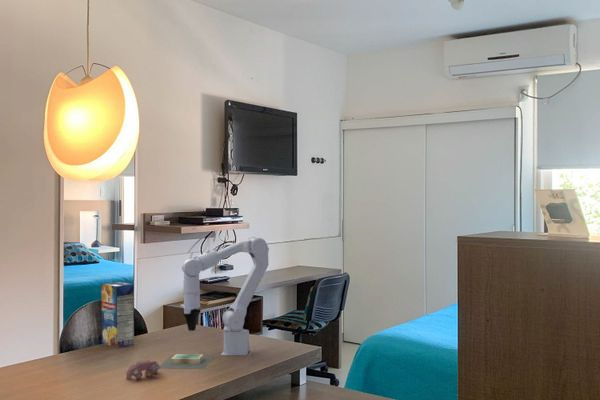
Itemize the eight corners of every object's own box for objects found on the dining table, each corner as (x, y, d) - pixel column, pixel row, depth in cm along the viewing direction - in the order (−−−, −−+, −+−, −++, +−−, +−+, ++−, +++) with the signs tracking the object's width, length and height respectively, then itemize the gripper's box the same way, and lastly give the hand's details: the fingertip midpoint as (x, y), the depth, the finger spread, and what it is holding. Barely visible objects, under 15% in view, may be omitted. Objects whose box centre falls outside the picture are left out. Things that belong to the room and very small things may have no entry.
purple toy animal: (128, 385, 181) (131, 367, 179) (124, 375, 185) (127, 358, 182) (158, 380, 187) (162, 363, 184) (154, 370, 190) (157, 353, 188)
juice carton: (101, 343, 231) (101, 283, 232) (118, 340, 237) (118, 281, 237) (116, 348, 223) (116, 286, 223) (134, 344, 228) (133, 284, 229)
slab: (203, 354, 204) (199, 358, 198) (203, 358, 204) (199, 363, 198) (175, 354, 204) (170, 358, 198) (175, 358, 204) (170, 363, 198)
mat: (215, 356, 209) (215, 354, 209) (204, 370, 191) (204, 368, 191) (171, 356, 210) (171, 354, 210) (156, 370, 192) (156, 368, 192)
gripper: (185, 289, 216) (186, 326, 215) (175, 295, 201) (175, 334, 201) (204, 289, 215) (204, 326, 215) (195, 295, 201) (195, 334, 201)
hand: (191, 330), depth 208 cm, fingers closed
